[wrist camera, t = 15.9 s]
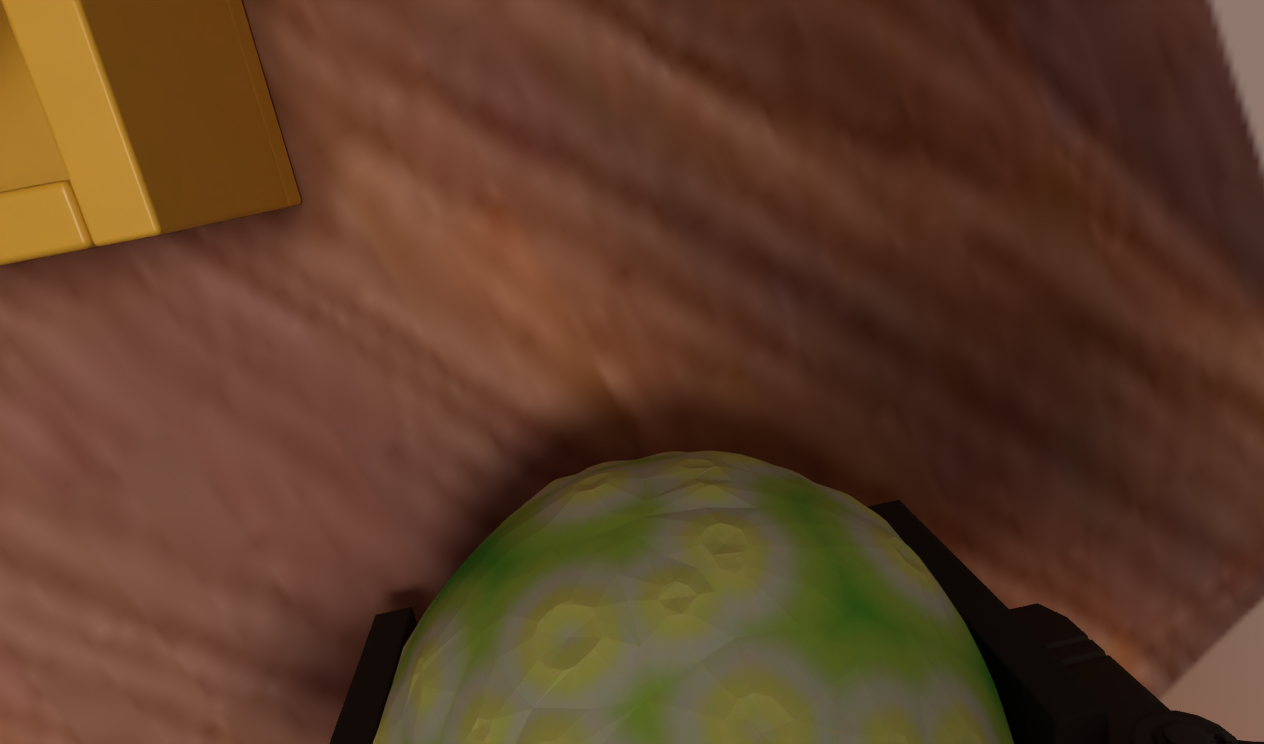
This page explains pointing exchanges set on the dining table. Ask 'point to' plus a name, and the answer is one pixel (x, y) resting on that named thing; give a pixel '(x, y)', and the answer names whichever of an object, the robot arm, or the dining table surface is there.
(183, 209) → the yellow bin
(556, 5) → the dining table surface
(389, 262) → the dining table surface
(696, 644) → the decorative ball
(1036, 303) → the dining table surface
